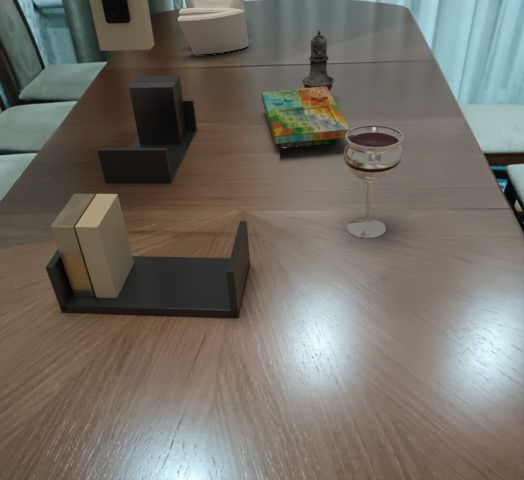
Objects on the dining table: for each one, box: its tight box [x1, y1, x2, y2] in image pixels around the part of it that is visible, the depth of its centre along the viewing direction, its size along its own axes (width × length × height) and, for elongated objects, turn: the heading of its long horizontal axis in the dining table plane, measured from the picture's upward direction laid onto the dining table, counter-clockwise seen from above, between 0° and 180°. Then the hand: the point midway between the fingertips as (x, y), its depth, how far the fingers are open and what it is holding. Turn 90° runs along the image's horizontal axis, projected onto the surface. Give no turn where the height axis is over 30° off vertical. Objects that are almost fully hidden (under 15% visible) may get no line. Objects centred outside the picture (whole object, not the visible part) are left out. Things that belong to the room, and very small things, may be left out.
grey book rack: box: [96, 75, 198, 185], centre depth 89 cm, size 20×10×10 cm, turn 174°
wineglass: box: [343, 124, 405, 239], centre depth 70 cm, size 7×7×12 cm
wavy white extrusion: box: [177, 0, 250, 55], centre depth 139 cm, size 35×16×10 cm, turn 0°
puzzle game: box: [260, 86, 351, 149], centre depth 96 cm, size 12×5×20 cm
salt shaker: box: [301, 29, 335, 93], centre depth 104 cm, size 6×6×12 cm
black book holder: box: [45, 193, 251, 319], centre depth 63 cm, size 20×10×10 cm, turn 84°
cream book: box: [89, 0, 155, 52], centre depth 75 cm, size 2×7×9 cm, turn 84°
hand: (121, 18), depth 76 cm, fingers closed on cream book, 2 cm apart
